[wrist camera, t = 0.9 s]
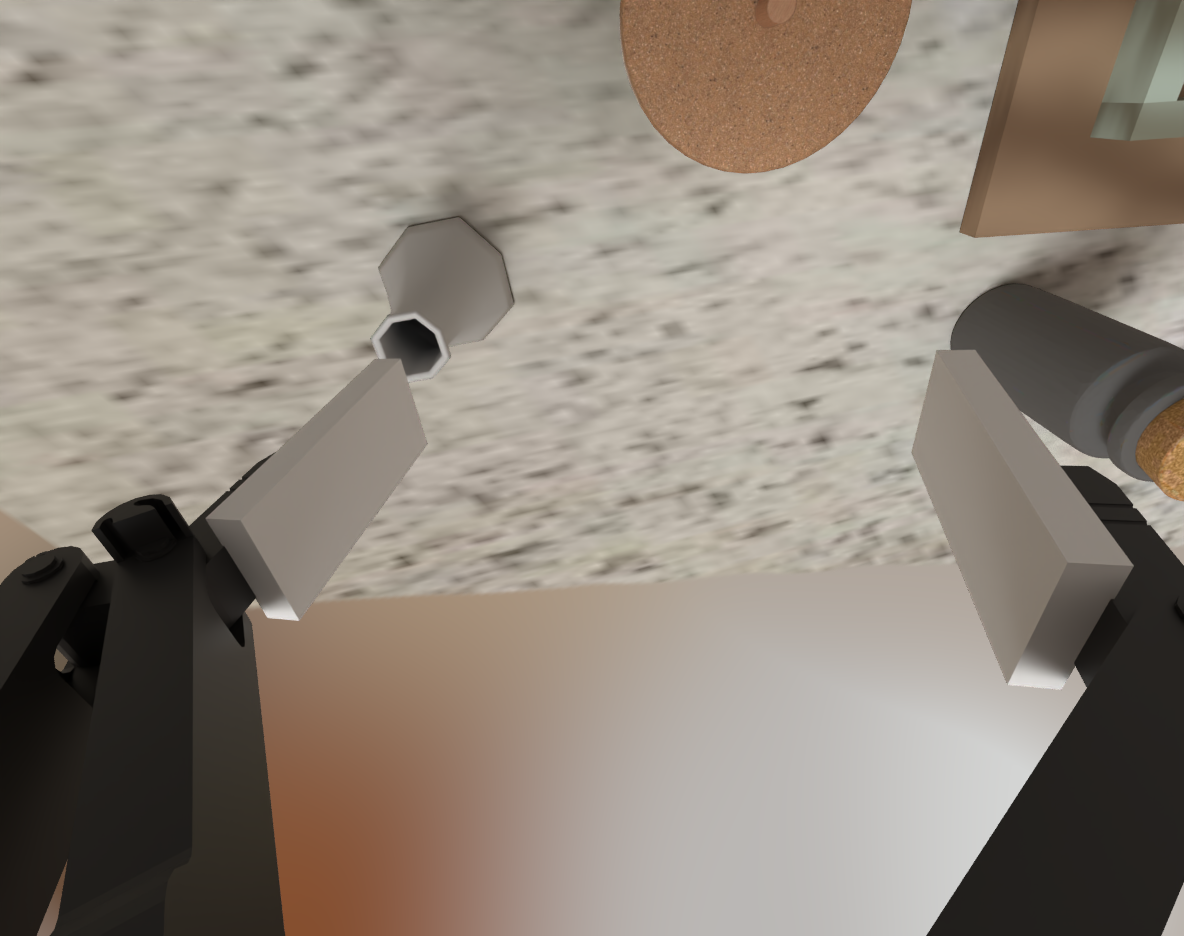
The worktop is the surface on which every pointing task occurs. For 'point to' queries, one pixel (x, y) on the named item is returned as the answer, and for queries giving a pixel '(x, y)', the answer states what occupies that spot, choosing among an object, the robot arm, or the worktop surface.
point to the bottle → (1085, 378)
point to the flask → (439, 295)
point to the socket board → (1084, 121)
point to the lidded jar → (757, 73)
